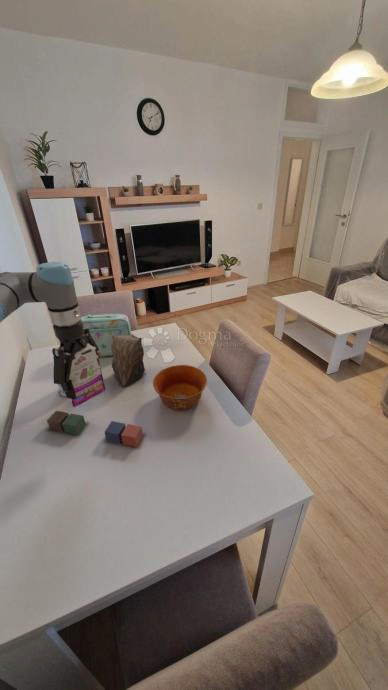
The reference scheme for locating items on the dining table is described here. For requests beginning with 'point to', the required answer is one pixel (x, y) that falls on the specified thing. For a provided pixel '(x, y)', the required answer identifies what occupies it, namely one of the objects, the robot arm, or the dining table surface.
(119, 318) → the lunch box
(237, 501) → the dining table surface
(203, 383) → the bowl
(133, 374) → the brown rock
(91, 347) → the candy bar box
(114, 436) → the block
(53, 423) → the block
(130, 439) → the block
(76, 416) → the block
